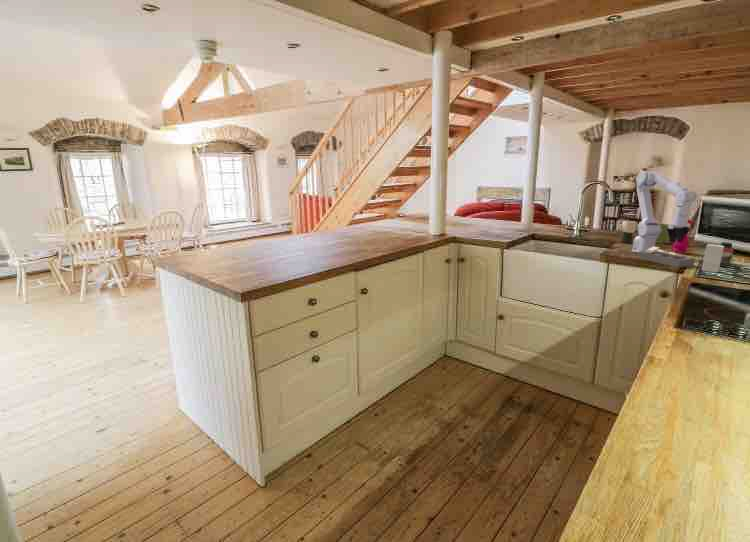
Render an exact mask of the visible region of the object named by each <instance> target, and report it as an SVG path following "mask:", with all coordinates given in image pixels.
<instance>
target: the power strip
mask: <svg viewBox="0 0 750 542" xmlns="http://www.w3.org/2000/svg"><path fill="white" fill-rule="evenodd" d="M637 257H640V258H643V259H646V260H645V261H647V260H650V261H649V262H652V261H653V262H652V263H655V264H656V263H657V264H662V265H665V266H671V267H673V268H677V269H679V268H684V267H685V268H686V267H693V266H694V264H695V261H696V259H695V257H691V256H690V257H689V256H685V255H682V257H678V256H674V255H671V254H670V255H668V254H664V253H661V252H658V251H655V252H653V253H648V252H646V251H638V253H637ZM637 257H636V258H637ZM643 259H642V260H643Z"/></svg>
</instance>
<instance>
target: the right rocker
mask: <svg viewBox="0 0 750 542" xmlns="http://www.w3.org/2000/svg"><path fill="white" fill-rule="evenodd" d="M668 252H669V254H671V255H674V256H678V257H682V256H683V255H682V254H681V253H675V252H673V251H668Z"/></svg>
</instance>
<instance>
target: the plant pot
mask: <svg viewBox="0 0 750 542" xmlns="http://www.w3.org/2000/svg"><path fill="white" fill-rule="evenodd" d="M659 225H660V226H661V228H662V232H661V234H660V235H659V236H658V238H656V242H655V244H656V243H657V244H659V245H660V244H663V245H664V244H666V243H667V242H668V241H669V240H668V239H669V234H668V231H667V228H668V226H669V224H667V223H659Z"/></svg>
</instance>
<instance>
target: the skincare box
mask: <svg viewBox="0 0 750 542" xmlns="http://www.w3.org/2000/svg"><path fill="white" fill-rule="evenodd" d="M723 249H724V246H721V244H720V245H719V244H713V243H711V244H710V243H708V244H707V245H706V248H705V252H704V256H703V261H702V262H703V263H702V266H701V271H704V272H710V273H719V271H720V267H721V266H720V262H721V258H722V254H723Z"/></svg>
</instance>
